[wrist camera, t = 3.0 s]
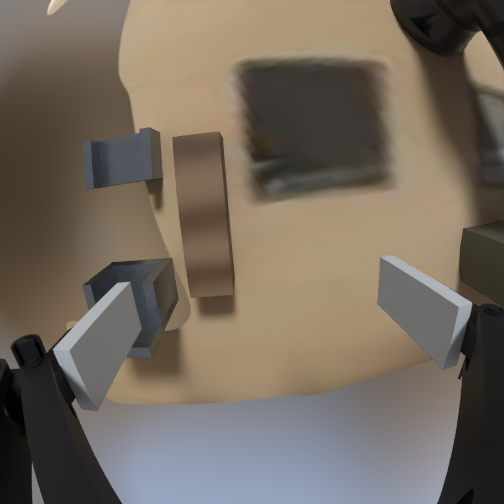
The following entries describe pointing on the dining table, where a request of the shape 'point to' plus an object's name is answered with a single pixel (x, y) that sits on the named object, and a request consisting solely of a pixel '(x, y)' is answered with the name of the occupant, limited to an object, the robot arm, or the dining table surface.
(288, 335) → the dining table surface
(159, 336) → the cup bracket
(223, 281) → the rail
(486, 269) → the book
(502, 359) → the robot arm
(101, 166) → the saddle block
